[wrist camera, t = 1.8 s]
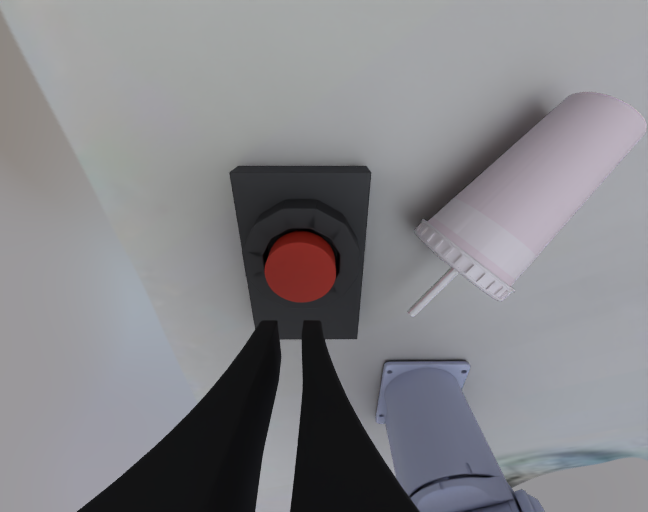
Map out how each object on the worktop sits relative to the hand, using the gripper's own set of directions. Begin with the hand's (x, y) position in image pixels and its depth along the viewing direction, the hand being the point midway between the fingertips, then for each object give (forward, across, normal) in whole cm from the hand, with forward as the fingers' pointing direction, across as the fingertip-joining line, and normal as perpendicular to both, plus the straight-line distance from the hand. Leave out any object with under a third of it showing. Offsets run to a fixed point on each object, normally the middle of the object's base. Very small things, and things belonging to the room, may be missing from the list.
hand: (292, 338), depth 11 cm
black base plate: (+9, 0, +2) cm, 10 cm away
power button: (+6, 0, 0) cm, 6 cm away
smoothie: (+7, -15, -8) cm, 18 cm away
